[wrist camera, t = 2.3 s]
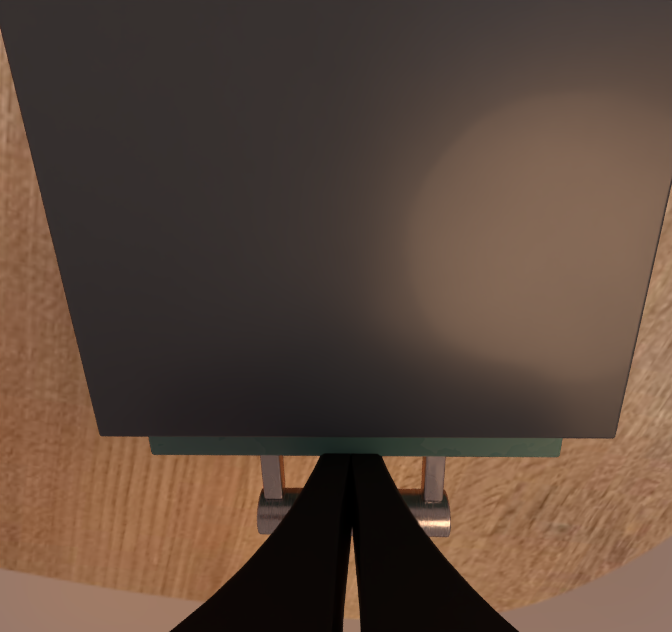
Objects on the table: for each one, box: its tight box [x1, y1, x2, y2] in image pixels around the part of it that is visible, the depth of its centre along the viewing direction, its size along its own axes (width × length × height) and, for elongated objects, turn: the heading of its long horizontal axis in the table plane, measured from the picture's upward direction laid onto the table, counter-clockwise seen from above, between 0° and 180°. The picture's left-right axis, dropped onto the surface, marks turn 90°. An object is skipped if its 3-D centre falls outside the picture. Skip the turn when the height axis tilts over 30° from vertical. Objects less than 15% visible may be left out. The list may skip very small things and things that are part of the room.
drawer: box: [149, 437, 563, 537], centre depth 12 cm, size 17×10×5 cm, turn 1°
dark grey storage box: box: [0, 0, 672, 438], centre depth 11 cm, size 14×12×7 cm
